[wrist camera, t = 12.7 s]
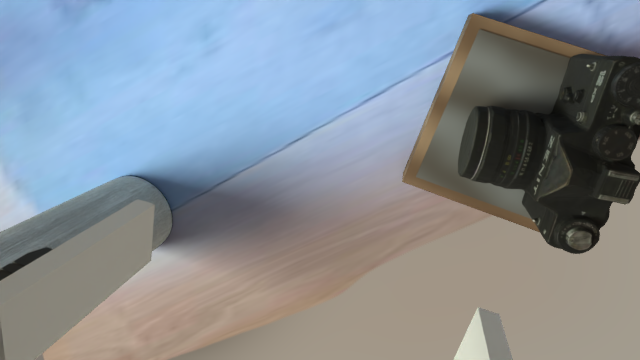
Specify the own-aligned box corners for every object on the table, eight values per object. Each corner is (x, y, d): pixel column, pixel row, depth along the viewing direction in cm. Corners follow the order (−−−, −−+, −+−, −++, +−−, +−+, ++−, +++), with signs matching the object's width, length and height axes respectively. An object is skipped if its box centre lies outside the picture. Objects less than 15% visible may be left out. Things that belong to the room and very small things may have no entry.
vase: (172, 182, 49) (-81, 333, 24) (174, 253, 52) (-45, 450, 27) (100, 168, 50) (-208, 295, 25) (106, 238, 54) (-158, 410, 29)
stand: (468, 15, 36) (473, 13, 33) (649, 72, 34) (669, 75, 32) (403, 172, 42) (402, 182, 39) (553, 228, 40) (564, 241, 38)
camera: (488, 37, 34) (516, 36, 24) (625, 59, 32) (710, 67, 23) (443, 188, 39) (453, 235, 29) (560, 214, 37) (609, 272, 28)
